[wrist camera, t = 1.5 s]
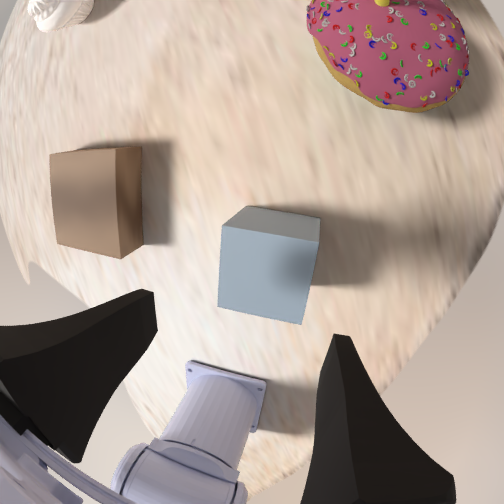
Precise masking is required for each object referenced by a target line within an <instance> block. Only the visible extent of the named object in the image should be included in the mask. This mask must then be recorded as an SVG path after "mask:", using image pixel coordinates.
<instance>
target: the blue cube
mask: <svg viewBox="0 0 504 504" xmlns="http://www.w3.org/2000/svg"><path fill="white" fill-rule="evenodd" d="M319 237H320V218H317V217H311V216H305V215H300V214H294V213H288V212H282V211H276V210H270V209H264V208H257V207H251V206H246V207H244V208H243V209H242V210H241V211H239V212H238V213H237V214H236V215H234V216H233V217H232V218H231V219H229V220H228V221H227V222H226V223H225V224H223V225H222V234H221V250H220V267H219V285H218V306H217V307H221V308H225V309H229V310H234V311H238V312H242V313H247V314H251V315H256V316H260V317H265V318H270V319H275V320H279V321H284V322H289V323H294V324H300V325H301V324H302V320H303V316H304V312H305V307H306V303H307V299H308V294H309V290H310V285H311V281H312V276H313V271H314V266H315V261H316V256H317V251H318V246H319Z"/></svg>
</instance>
